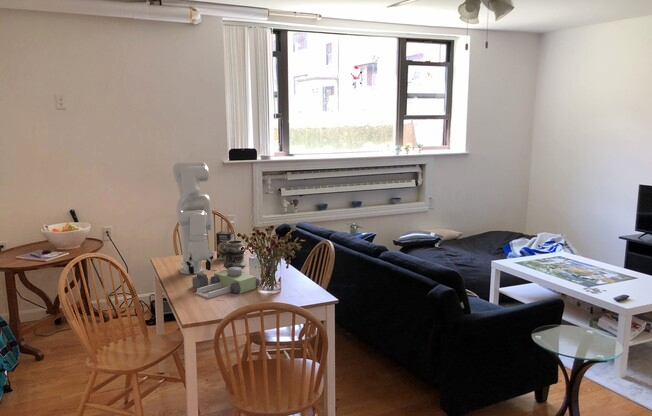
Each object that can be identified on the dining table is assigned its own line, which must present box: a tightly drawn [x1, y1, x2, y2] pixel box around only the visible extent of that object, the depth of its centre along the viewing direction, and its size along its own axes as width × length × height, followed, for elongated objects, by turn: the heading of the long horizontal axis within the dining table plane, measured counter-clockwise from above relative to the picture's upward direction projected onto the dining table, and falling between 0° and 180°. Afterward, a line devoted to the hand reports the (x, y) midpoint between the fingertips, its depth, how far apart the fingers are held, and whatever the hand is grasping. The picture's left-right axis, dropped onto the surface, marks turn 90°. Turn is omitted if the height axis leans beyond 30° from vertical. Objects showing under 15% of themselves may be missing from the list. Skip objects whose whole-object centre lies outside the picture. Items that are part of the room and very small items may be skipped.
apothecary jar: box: [223, 239, 247, 273], centre depth 274 cm, size 12×12×18 cm
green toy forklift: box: [195, 267, 261, 299], centre depth 250 cm, size 21×26×9 cm
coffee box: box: [215, 230, 235, 261], centre depth 305 cm, size 9×6×16 cm
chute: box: [191, 272, 209, 290], centre depth 254 cm, size 6×5×7 cm
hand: (200, 271), depth 252 cm, fingers open, 9 cm apart
